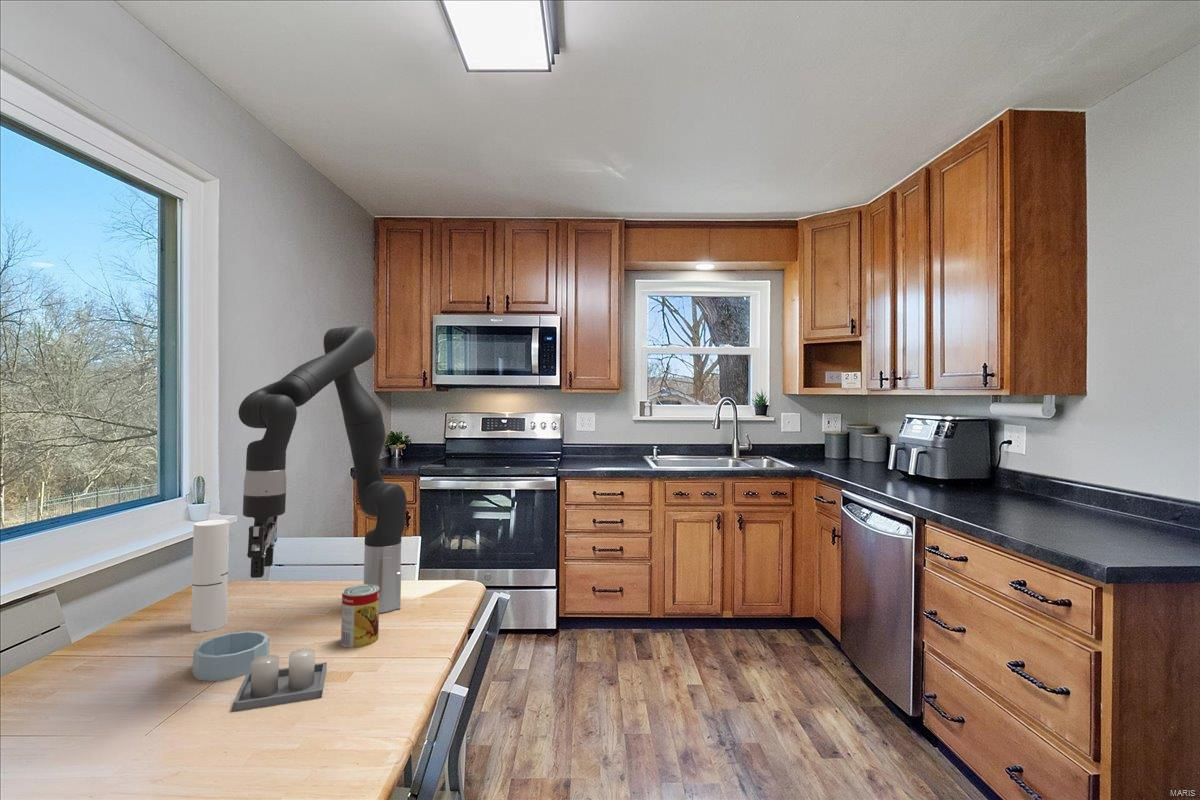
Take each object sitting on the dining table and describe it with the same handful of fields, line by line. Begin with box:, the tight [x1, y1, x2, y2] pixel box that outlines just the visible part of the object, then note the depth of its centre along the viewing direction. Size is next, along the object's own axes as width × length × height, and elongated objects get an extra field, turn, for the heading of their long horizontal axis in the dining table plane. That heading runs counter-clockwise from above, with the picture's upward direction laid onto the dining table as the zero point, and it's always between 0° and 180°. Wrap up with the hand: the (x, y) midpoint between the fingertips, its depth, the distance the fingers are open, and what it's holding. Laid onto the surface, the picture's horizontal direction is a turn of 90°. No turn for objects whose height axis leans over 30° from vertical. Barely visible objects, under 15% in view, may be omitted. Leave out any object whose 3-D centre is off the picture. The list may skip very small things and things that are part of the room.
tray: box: [232, 661, 328, 712], centre depth 107 cm, size 14×12×2 cm
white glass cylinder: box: [288, 647, 316, 690], centre depth 108 cm, size 4×4×6 cm
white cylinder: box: [251, 654, 280, 698], centre depth 105 cm, size 4×4×6 cm
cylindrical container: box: [190, 519, 230, 633], centre depth 137 cm, size 7×7×25 cm
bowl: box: [192, 630, 270, 682], centre depth 116 cm, size 13×13×5 cm
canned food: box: [340, 583, 380, 648], centre depth 129 cm, size 8×8×12 cm
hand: (262, 571), depth 115 cm, fingers open, 8 cm apart
